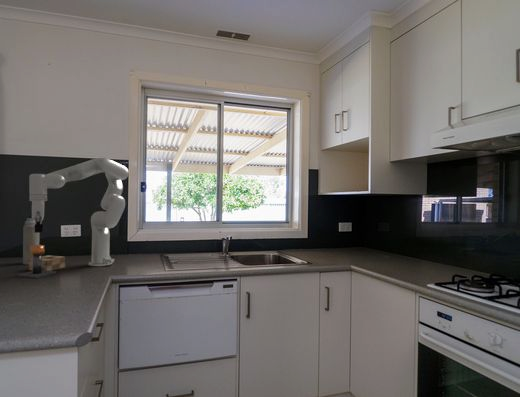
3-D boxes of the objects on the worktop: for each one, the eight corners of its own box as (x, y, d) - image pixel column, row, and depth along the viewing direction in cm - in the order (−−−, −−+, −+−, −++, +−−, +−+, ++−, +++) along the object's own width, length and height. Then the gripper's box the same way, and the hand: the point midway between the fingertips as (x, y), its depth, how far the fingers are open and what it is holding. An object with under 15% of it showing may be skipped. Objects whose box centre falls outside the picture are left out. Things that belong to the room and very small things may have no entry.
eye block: (64, 267, 193) (65, 256, 193) (46, 271, 181) (47, 260, 181) (47, 265, 196) (47, 255, 196) (28, 270, 184) (28, 259, 184)
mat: (56, 273, 179) (56, 271, 179) (36, 278, 167) (36, 276, 167) (37, 271, 182) (37, 269, 182) (16, 276, 170) (16, 274, 170)
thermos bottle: (32, 261, 207) (33, 215, 207) (42, 262, 205) (43, 216, 205) (19, 263, 200) (20, 216, 200) (29, 264, 197) (30, 216, 197)
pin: (37, 271, 178) (37, 244, 178) (46, 272, 177) (47, 245, 176) (27, 273, 172) (27, 246, 172) (36, 274, 171) (37, 246, 171)
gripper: (30, 197, 180) (31, 230, 180) (28, 198, 165) (28, 233, 165) (47, 197, 184) (47, 229, 184) (46, 198, 169) (47, 232, 169)
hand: (38, 231), depth 175 cm, fingers open, 9 cm apart
